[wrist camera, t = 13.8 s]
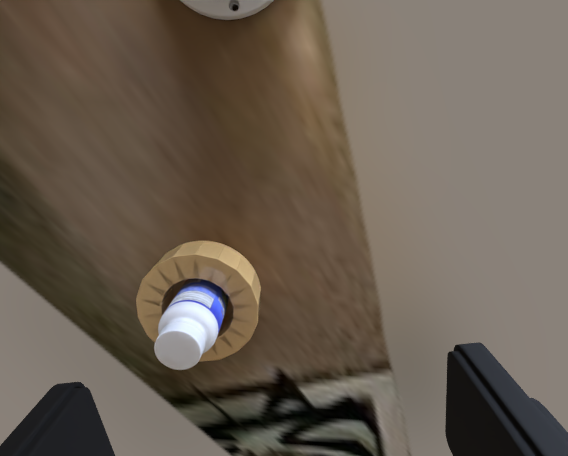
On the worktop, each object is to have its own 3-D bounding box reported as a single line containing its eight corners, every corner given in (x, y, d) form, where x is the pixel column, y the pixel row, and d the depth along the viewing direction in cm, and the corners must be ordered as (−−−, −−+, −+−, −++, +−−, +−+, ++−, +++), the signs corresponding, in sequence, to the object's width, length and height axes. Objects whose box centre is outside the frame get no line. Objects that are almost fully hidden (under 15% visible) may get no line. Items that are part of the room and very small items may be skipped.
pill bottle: (225, 319, 38) (204, 384, 29) (177, 308, 38) (141, 370, 28) (234, 277, 36) (216, 332, 27) (185, 266, 36) (150, 317, 27)
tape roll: (138, 247, 36) (121, 262, 32) (252, 234, 35) (248, 248, 31) (165, 342, 39) (152, 366, 36) (269, 332, 39) (266, 355, 35)
